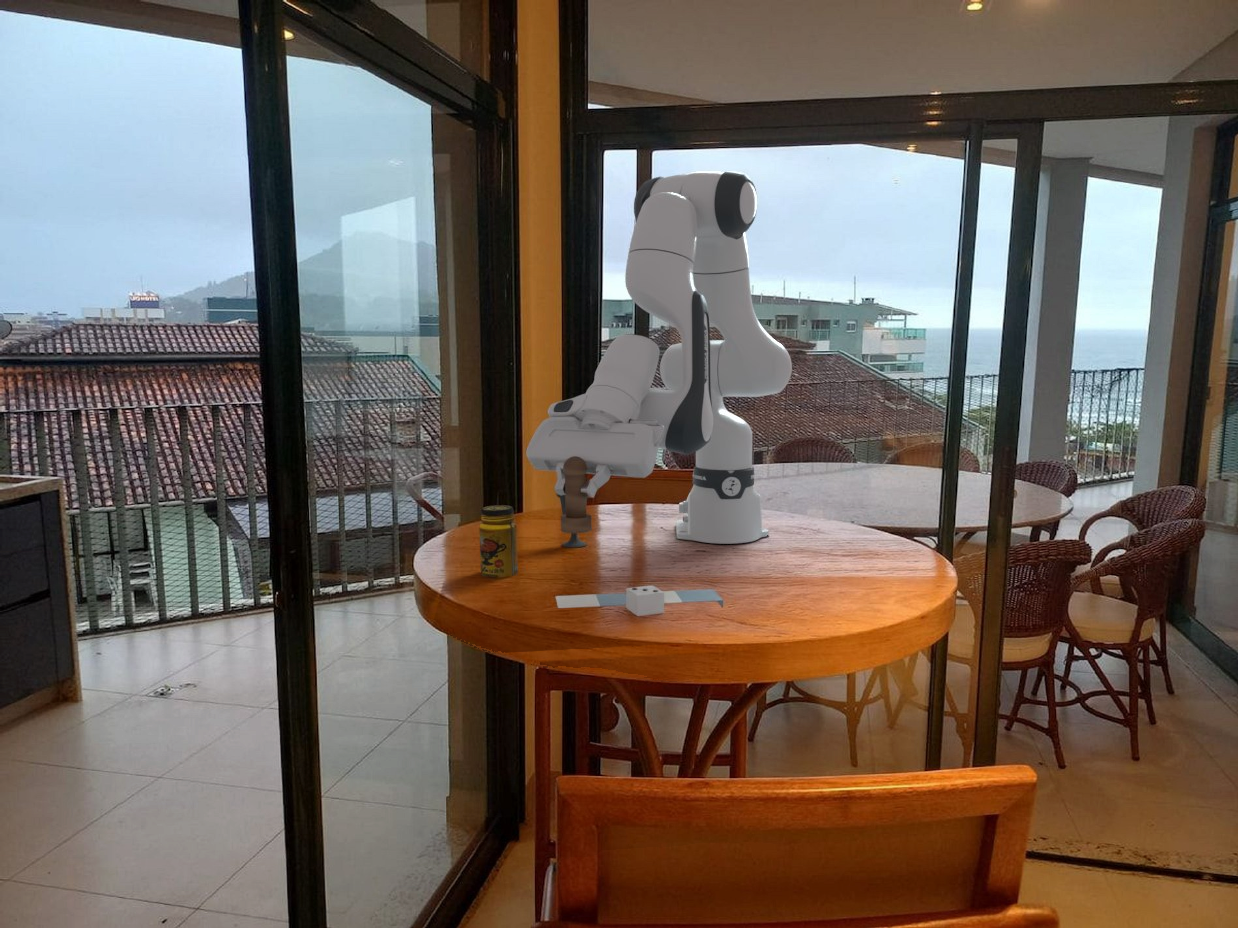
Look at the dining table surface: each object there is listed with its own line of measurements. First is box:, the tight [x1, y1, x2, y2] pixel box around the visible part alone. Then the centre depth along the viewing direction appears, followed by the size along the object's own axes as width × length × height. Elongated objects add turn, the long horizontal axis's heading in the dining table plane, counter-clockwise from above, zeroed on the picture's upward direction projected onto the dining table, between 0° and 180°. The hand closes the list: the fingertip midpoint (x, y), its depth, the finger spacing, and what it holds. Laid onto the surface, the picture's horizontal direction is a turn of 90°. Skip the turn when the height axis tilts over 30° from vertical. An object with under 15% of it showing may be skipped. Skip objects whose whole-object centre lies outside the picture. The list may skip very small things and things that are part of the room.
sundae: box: [555, 492, 588, 549], centre depth 165 cm, size 7×7×15 cm
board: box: [555, 588, 724, 609], centre depth 126 cm, size 6×24×1 cm, turn 98°
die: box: [625, 584, 665, 617], centre depth 120 cm, size 4×4×4 cm
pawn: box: [560, 456, 592, 534], centre depth 123 cm, size 4×4×11 cm
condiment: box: [478, 504, 519, 579], centre depth 142 cm, size 7×8×12 cm
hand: (573, 493), depth 123 cm, fingers closed on pawn, 3 cm apart
